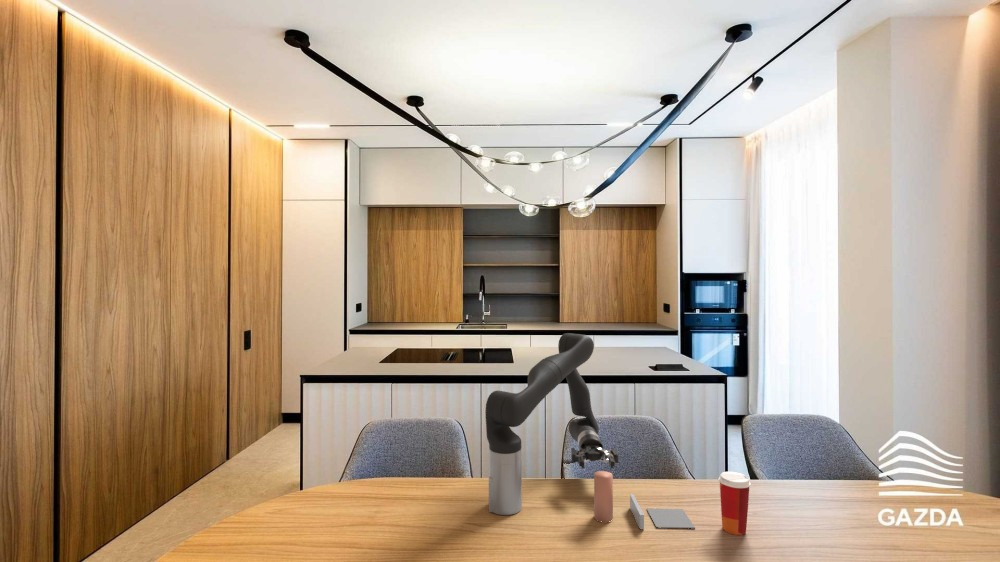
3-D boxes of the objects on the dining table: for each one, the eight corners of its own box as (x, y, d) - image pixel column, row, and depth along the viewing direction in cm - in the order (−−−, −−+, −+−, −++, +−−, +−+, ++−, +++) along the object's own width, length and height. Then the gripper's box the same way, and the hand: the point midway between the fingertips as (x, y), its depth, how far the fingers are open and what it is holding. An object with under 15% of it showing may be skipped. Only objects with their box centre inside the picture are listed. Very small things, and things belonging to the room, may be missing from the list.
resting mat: (656, 528, 131) (656, 526, 131) (646, 509, 141) (646, 508, 141) (695, 528, 131) (695, 527, 131) (682, 510, 141) (682, 509, 141)
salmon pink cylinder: (595, 522, 134) (595, 478, 134) (592, 513, 139) (592, 471, 139) (614, 522, 134) (614, 478, 134) (611, 513, 139) (611, 471, 139)
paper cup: (743, 522, 134) (744, 471, 134) (755, 538, 126) (755, 483, 126) (713, 521, 135) (713, 470, 134) (723, 536, 127) (723, 482, 127)
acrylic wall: (640, 530, 131) (640, 514, 130) (629, 508, 143) (629, 494, 142) (643, 530, 130) (643, 515, 130) (633, 508, 142) (633, 494, 142)
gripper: (568, 433, 165) (573, 452, 148) (611, 433, 164) (621, 452, 148) (568, 456, 165) (573, 477, 149) (611, 456, 164) (621, 477, 148)
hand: (597, 465), depth 148 cm, fingers open, 8 cm apart
